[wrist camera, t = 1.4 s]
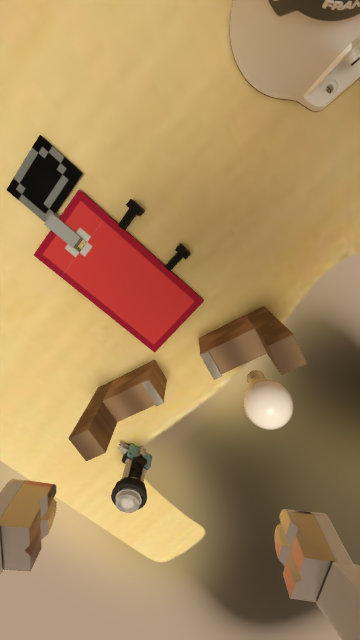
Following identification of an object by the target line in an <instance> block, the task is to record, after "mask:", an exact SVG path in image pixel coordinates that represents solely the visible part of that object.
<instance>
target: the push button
mask: <svg viewBox="0 0 360 640" xmlns="http://www.w3.org/2000/svg"><path fill="white" fill-rule="evenodd" d="M121 444H123V446H122V445H121ZM119 445H120V446H119V447H118V449H119V450H120V451H122V453H124V455H123V458H122V462H123V463H125V464H126V466H125V469H124V473H123V477H122V479H121V480H120V481H118V482H117V484H116V486H115V487H114V489H113V491H112V495H111V498H112V501H113V503H114V504H115V505H116V506H117V508H118V509H119V510H120V511H123V512H125V513H132V512H135V511H136V510H138V509H140V508H142V507H143V506H144V505H145V503H146V500H147V494H146V488H145V484H144V483H143V482H144V477H145V473H146V472H147V470H148V469H149V468H150V466H151V460H152V456H151V455H150V454H148V453H146V449H144V448H143V447H141V448H139V447H137V446H136V445H134V444H130V446H128V445H125V444H124V443H122V442H121V443H120V444H119ZM120 448H122V450H121V449H120ZM142 449H143V450H144V451H143V450H142ZM118 490H119V491H118ZM141 495H142V496H141Z"/></svg>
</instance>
